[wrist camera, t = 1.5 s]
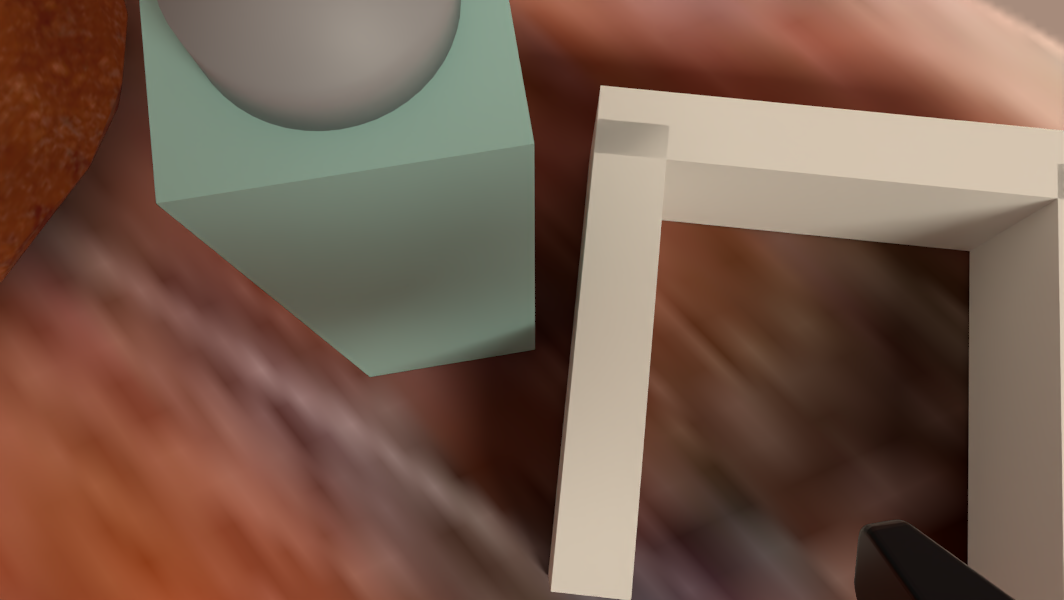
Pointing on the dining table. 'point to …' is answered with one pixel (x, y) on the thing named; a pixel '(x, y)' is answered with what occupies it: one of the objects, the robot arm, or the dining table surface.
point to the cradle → (832, 211)
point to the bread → (52, 106)
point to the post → (355, 165)
